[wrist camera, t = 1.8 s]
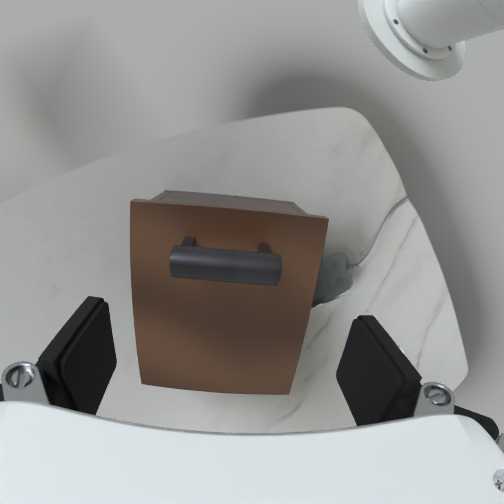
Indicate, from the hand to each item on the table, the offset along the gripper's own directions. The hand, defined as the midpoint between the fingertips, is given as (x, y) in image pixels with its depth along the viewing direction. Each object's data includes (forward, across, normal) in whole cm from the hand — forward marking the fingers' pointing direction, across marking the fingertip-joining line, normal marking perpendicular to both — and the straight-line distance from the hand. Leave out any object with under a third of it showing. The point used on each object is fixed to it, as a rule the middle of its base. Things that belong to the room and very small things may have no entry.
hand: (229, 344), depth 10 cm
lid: (+11, 0, +5) cm, 12 cm away
